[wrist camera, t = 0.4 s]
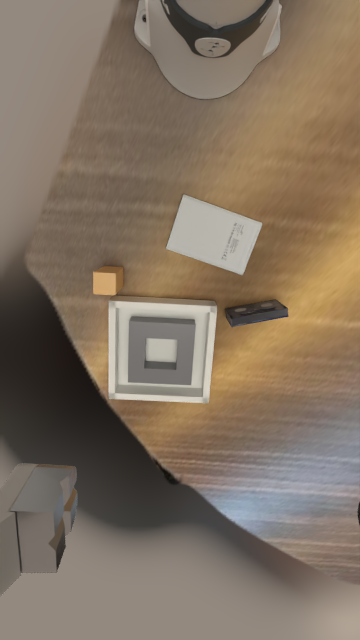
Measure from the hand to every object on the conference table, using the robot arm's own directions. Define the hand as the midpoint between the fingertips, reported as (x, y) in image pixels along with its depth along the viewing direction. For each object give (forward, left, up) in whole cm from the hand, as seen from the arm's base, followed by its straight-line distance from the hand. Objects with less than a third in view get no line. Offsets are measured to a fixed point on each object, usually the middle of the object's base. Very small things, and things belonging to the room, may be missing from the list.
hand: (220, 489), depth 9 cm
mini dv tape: (+5, +11, -45) cm, 46 cm away
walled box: (+12, -3, -44) cm, 46 cm away
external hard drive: (-6, +4, -45) cm, 46 cm away
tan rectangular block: (+1, -11, -44) cm, 46 cm away
